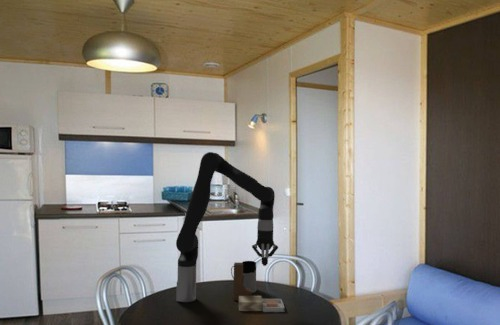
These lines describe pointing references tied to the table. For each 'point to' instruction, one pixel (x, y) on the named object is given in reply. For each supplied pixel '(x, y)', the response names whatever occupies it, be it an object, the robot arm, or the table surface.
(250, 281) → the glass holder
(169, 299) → the table surface
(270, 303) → the tile
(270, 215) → the robot arm
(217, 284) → the table surface
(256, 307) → the beige patterned box
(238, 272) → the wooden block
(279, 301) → the tray
